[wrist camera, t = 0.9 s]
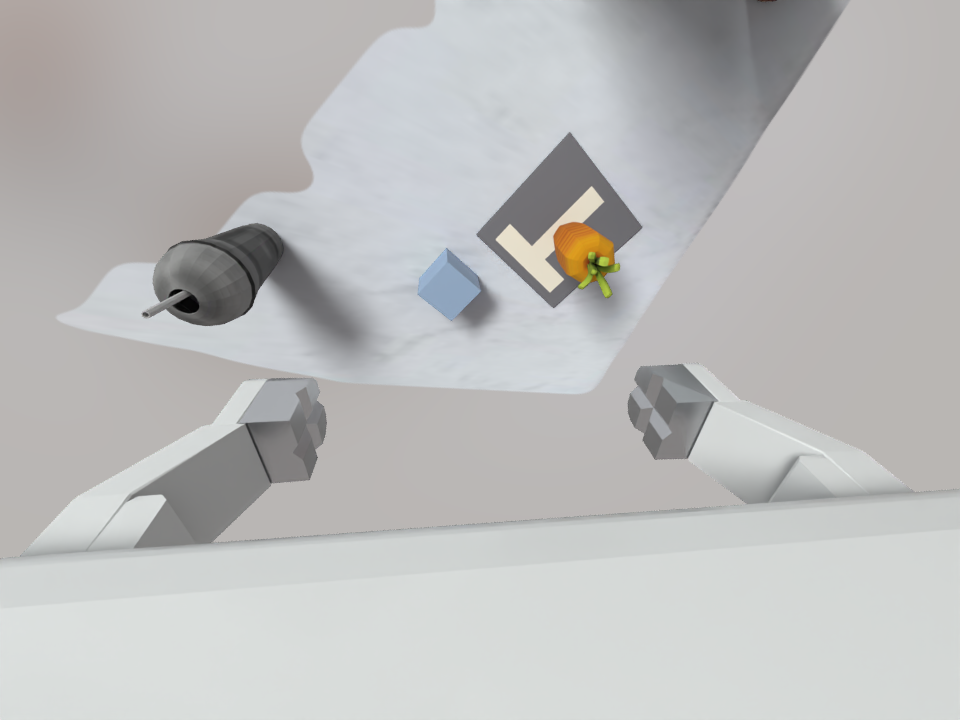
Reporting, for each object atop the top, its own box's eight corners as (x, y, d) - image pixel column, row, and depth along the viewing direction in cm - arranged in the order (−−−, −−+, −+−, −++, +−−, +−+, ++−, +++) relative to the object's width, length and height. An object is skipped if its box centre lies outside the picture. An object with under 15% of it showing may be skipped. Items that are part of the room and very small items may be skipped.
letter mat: (569, 132, 39) (569, 132, 39) (641, 226, 45) (642, 227, 45) (476, 234, 44) (476, 234, 44) (553, 307, 50) (553, 308, 50)
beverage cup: (223, 262, 43) (86, 358, 26) (227, 198, 39) (73, 261, 23) (291, 283, 45) (204, 385, 28) (301, 224, 41) (208, 300, 25)
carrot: (575, 254, 46) (626, 307, 33) (535, 249, 45) (572, 301, 33) (586, 211, 43) (647, 251, 31) (545, 205, 43) (589, 244, 30)
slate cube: (446, 247, 44) (447, 261, 40) (477, 274, 47) (481, 291, 42) (419, 278, 46) (417, 294, 42) (450, 303, 48) (451, 321, 44)
